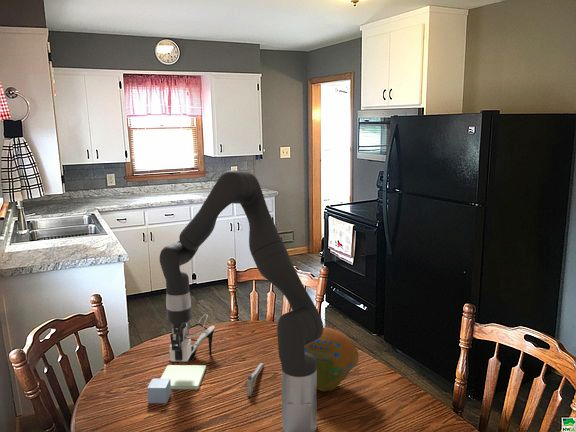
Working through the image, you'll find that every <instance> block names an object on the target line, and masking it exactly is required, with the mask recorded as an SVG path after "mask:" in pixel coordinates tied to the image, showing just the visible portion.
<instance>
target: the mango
mask: <svg viewBox="0 0 576 432" xmlns="http://www.w3.org/2000/svg"><path fill="white" fill-rule="evenodd" d="M304 351H305V352H308V353H310V354H312V355H313V356H314V357H315V358H316V361H317V391H318V390H319V391H321V392H330V391H332V390H334V389H336V388H337V387H338V386H339V385H340V384H341V383H342V382H343V381H345V379H346V378H347V377H348V375H349V373H350V371H352V370H353V369H354V368H355V367H356V366H357V365H358V363H359V352H358V349H357V347H356V346H355V344H354V342H353V341H352V340H351V338H349V337H348V335H346V334H344V332H342V331H341V330H337V329H334V328H332V327H323V333H322V335H321V337H320V338H318V339H317V340H315V341H312V342H310V343H308V344H306V345H304Z"/></svg>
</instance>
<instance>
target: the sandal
mask: <svg viewBox="0 0 576 432" xmlns="http://www.w3.org/2000/svg"><path fill="white" fill-rule="evenodd" d="M205 316H206V317H205ZM204 317H205V320H204V322H203V324H201V321H202V319H203V318H204ZM208 317H209V315H208V314H203V315H202V316H201V317H200V318H199V320H198V322H197V323H196V324H193V325H192V326H190V327H189V330H191V329H192V328H194V327H197V326H200V327H201V328H202V330H201V331H200V332H199V333H195V334H191V335H190V334H189V335H188V336H187V338H188V339H191V342H192V341H194V343H191V356H190V358H189V360H188V361H183V362H187V363H188V362H192V361H193V360H194V359H195V357H196V354H197V350H198V347H199V346H200V345H201V343H202V342H203V341H204V340H205V339H206V338H208V352H209V353H208V355H212V345H213V344H212V343H213V335H214V331H215V328H216V327H215V325H211V326H209V327H206V324H207V320H208ZM192 337H193V338H194V337H198V338H197V339H193V338H192ZM168 353H169V354H170V350H169V351H168Z"/></svg>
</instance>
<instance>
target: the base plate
mask: <svg viewBox="0 0 576 432" xmlns="http://www.w3.org/2000/svg"><path fill="white" fill-rule="evenodd" d="M206 371H207V365H201V364H200V365H197V364H196V365H194V364H193V365H192V364H191V365H190V364H189V365H187V364H181V365H180V364H179V365H177V364H175V365H171V364H167V366H166V368H165V369H164V371H163V373H162V375H161V377H160V378H164V379H170V382H171V390H199V388H200V387H201V386H200V385H201V383H202V381H203V378H204V376H205V373H206Z"/></svg>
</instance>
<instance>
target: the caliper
mask: <svg viewBox="0 0 576 432" xmlns="http://www.w3.org/2000/svg"><path fill="white" fill-rule="evenodd" d="M264 365H265V363H263V362H260V363H259V364H258V365H257V367H256V368H255V370H254V372H252V373H251V374H249V375H248V376H247V380H246V381H247V385H246V392H247V394H246V395H247V397H251V396H252V394H253V389H254V384H255V383H256V379H257V378H258V376H259V374H260V373H261V371H262V370H263V368H264Z"/></svg>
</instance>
